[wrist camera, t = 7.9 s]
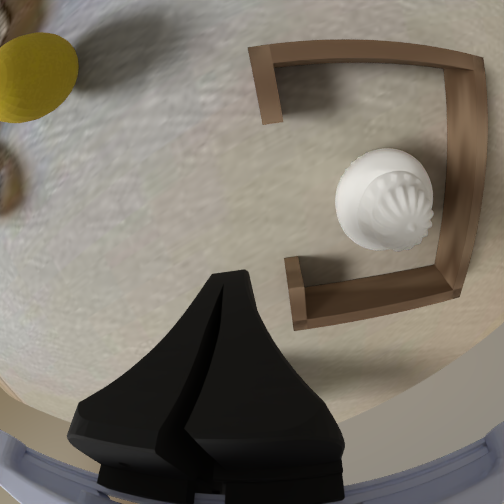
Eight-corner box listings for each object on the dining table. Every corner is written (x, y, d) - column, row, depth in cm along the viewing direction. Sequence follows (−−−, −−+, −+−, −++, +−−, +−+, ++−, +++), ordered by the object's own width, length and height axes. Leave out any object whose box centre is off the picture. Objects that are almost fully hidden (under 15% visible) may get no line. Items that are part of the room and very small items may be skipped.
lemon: (96, 25, 12) (16, 10, 5) (104, 97, 15) (22, 115, 8) (36, 55, 12) (-44, 63, 6) (45, 120, 15) (-34, 151, 8)
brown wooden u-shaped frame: (441, 272, 22) (459, 297, 19) (289, 299, 23) (293, 330, 20) (452, 57, 12) (483, 57, 9) (249, 55, 14) (247, 47, 11)
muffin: (417, 154, 17) (479, 191, 11) (387, 230, 20) (430, 290, 14) (337, 124, 16) (382, 148, 10) (310, 211, 19) (334, 273, 13)
